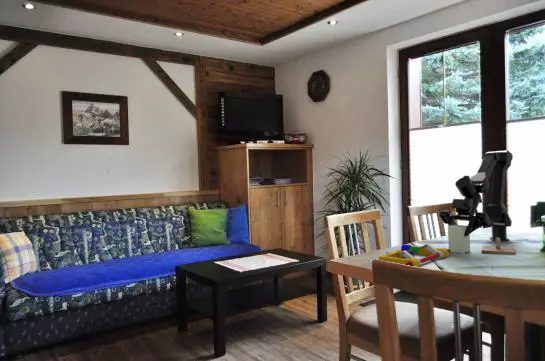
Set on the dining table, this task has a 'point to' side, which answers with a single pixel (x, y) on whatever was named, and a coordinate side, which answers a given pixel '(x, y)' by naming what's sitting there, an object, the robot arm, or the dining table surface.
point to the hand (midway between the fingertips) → (456, 235)
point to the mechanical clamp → (409, 251)
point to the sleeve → (458, 239)
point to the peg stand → (498, 249)
